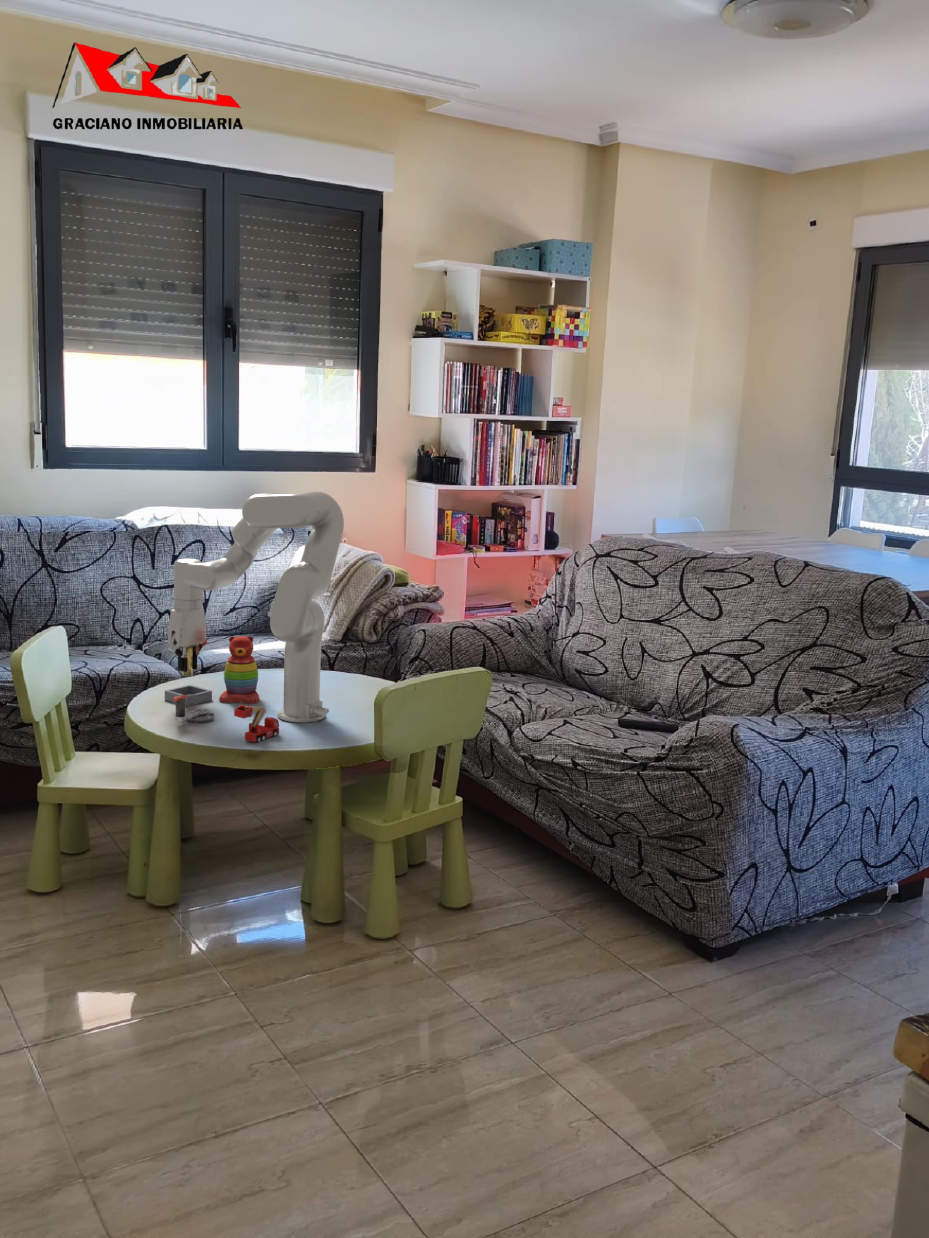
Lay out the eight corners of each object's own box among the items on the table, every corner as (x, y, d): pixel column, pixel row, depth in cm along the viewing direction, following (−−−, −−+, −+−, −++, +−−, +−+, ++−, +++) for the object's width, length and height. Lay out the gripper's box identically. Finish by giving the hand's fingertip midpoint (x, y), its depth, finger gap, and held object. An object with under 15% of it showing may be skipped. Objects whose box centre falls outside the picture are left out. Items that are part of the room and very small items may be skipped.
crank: (200, 711, 287) (200, 688, 285) (210, 713, 285) (210, 690, 284) (169, 720, 278) (169, 696, 276) (179, 722, 276) (179, 699, 275)
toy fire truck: (280, 734, 275) (281, 697, 273) (243, 747, 264) (244, 709, 262) (270, 732, 277) (271, 695, 275) (233, 745, 265) (233, 706, 263)
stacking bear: (217, 702, 300) (218, 639, 297) (224, 693, 310) (224, 631, 307) (257, 704, 301) (258, 641, 297) (262, 694, 311) (263, 633, 307)
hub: (219, 718, 285) (219, 714, 285) (199, 724, 280) (199, 720, 279) (201, 713, 289) (201, 709, 289) (180, 719, 284) (180, 714, 283)
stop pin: (194, 675, 301) (195, 647, 299) (186, 676, 298) (187, 648, 297) (187, 673, 302) (188, 645, 300) (179, 674, 300) (180, 646, 298)
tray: (212, 699, 303) (212, 690, 302) (186, 706, 295) (186, 696, 295) (189, 693, 308) (189, 684, 307) (164, 699, 300) (164, 690, 300)
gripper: (201, 598, 305) (200, 662, 309) (155, 605, 292) (154, 672, 295) (220, 603, 301) (219, 667, 304) (173, 610, 288) (173, 677, 291)
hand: (187, 669), depth 300 cm, fingers closed on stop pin, 2 cm apart
